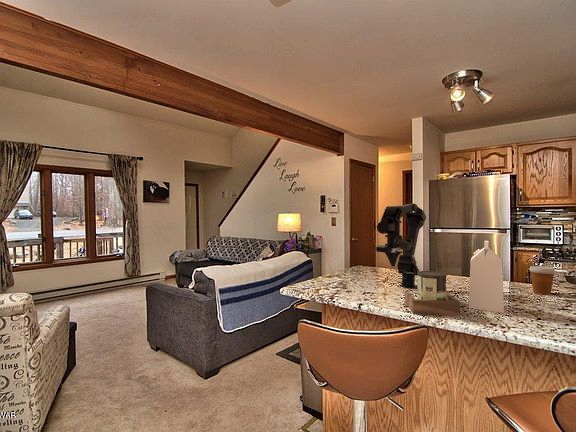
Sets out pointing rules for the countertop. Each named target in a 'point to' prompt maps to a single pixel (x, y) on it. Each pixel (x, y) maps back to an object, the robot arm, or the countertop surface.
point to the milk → (486, 281)
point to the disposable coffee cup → (542, 279)
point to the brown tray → (433, 305)
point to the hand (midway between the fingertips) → (393, 266)
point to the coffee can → (431, 285)
